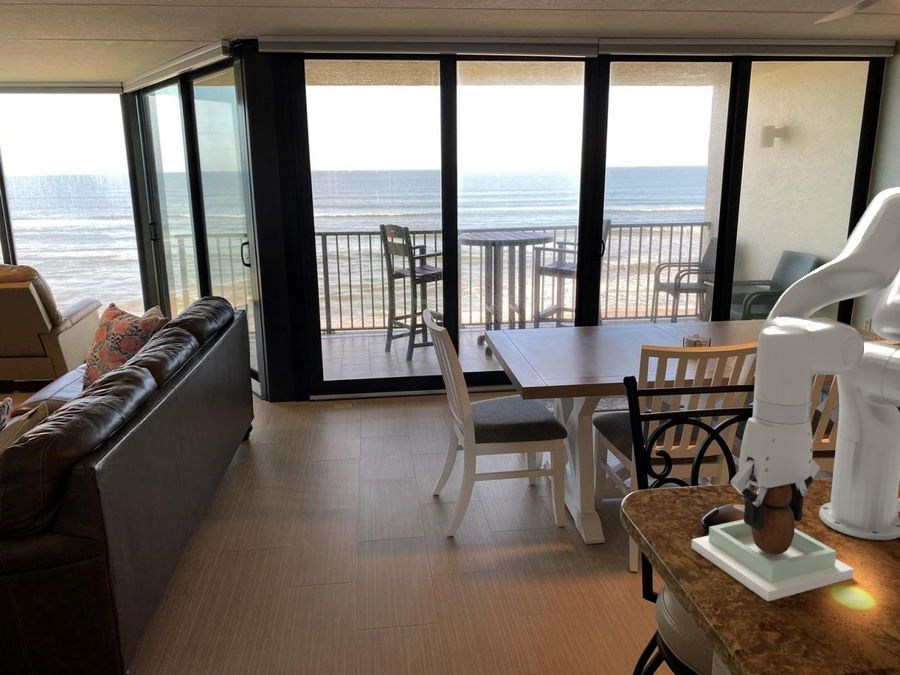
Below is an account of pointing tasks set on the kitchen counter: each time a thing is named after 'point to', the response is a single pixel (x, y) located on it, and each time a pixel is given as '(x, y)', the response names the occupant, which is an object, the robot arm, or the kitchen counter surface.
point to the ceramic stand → (771, 561)
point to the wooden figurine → (776, 521)
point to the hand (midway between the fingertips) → (772, 520)
